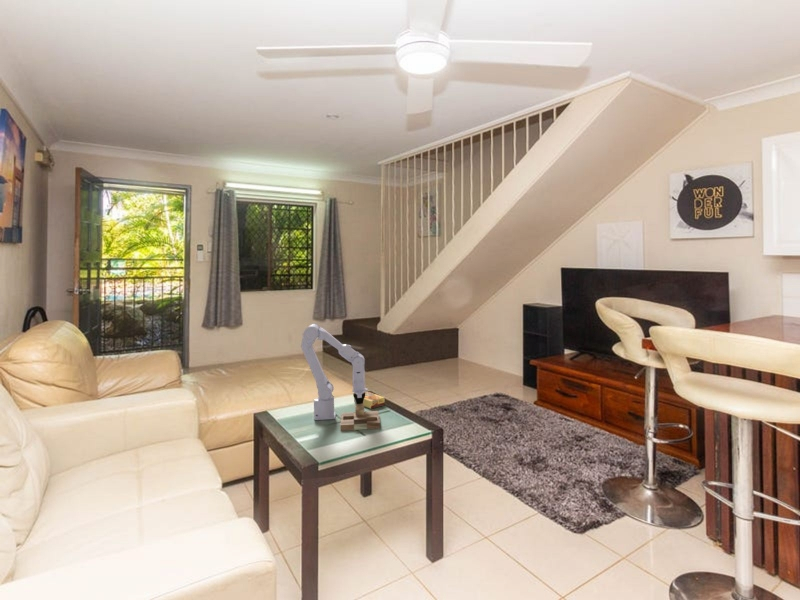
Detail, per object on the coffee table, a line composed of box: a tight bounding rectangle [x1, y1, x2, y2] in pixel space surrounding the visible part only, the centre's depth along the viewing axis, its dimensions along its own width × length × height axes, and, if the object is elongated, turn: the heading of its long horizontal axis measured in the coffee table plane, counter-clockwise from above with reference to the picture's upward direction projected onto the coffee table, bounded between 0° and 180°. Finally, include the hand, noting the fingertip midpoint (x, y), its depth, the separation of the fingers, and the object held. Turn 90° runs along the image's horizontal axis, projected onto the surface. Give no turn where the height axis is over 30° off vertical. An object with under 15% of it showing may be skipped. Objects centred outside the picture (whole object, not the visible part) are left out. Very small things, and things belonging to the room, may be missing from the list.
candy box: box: [353, 390, 386, 409], centre depth 218 cm, size 9×4×15 cm
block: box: [354, 403, 365, 415], centre depth 197 cm, size 4×4×4 cm
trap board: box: [340, 410, 381, 431], centre depth 191 cm, size 16×17×4 cm
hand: (359, 408), depth 201 cm, fingers closed
